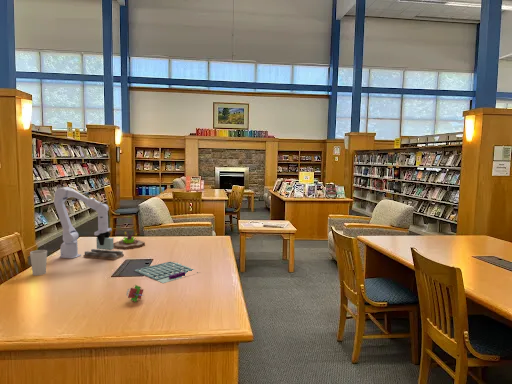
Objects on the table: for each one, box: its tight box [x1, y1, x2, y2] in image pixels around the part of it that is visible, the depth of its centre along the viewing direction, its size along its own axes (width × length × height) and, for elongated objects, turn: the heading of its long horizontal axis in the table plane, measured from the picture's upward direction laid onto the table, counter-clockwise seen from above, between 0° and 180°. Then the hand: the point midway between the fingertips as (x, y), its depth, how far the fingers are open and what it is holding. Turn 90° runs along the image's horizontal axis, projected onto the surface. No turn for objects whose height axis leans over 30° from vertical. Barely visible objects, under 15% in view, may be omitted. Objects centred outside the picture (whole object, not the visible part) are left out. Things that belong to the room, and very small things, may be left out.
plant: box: [113, 231, 146, 251], centre depth 259 cm, size 20×20×11 cm
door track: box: [82, 248, 125, 261], centre depth 230 cm, size 22×10×3 cm, turn 76°
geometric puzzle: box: [126, 284, 145, 303], centre depth 160 cm, size 7×7×8 cm
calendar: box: [133, 261, 194, 284], centre depth 202 cm, size 27×28×2 cm
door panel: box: [96, 237, 115, 251], centre depth 229 cm, size 10×3×7 cm, turn 76°
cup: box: [29, 249, 48, 276], centre depth 195 cm, size 8×8×12 cm
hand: (103, 244), depth 230 cm, fingers closed on door panel, 3 cm apart
